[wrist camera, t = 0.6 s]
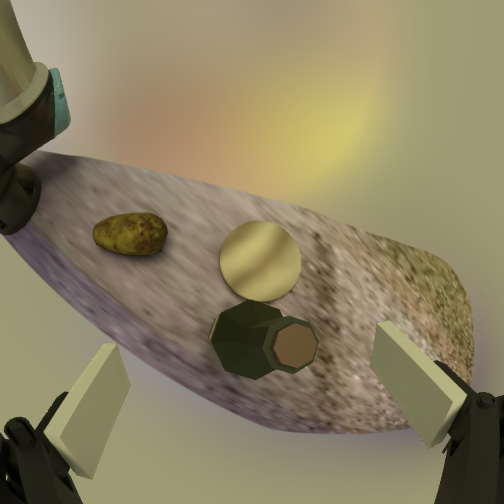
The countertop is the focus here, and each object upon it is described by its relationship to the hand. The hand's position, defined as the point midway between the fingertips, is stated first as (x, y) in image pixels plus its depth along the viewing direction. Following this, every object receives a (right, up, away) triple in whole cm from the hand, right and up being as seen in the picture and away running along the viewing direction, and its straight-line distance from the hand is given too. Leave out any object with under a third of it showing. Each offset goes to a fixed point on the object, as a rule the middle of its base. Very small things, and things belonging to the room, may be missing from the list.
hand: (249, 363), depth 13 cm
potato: (-20, +7, +32) cm, 38 cm away
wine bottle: (-3, -8, +30) cm, 31 cm away
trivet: (+1, +3, +34) cm, 34 cm away
